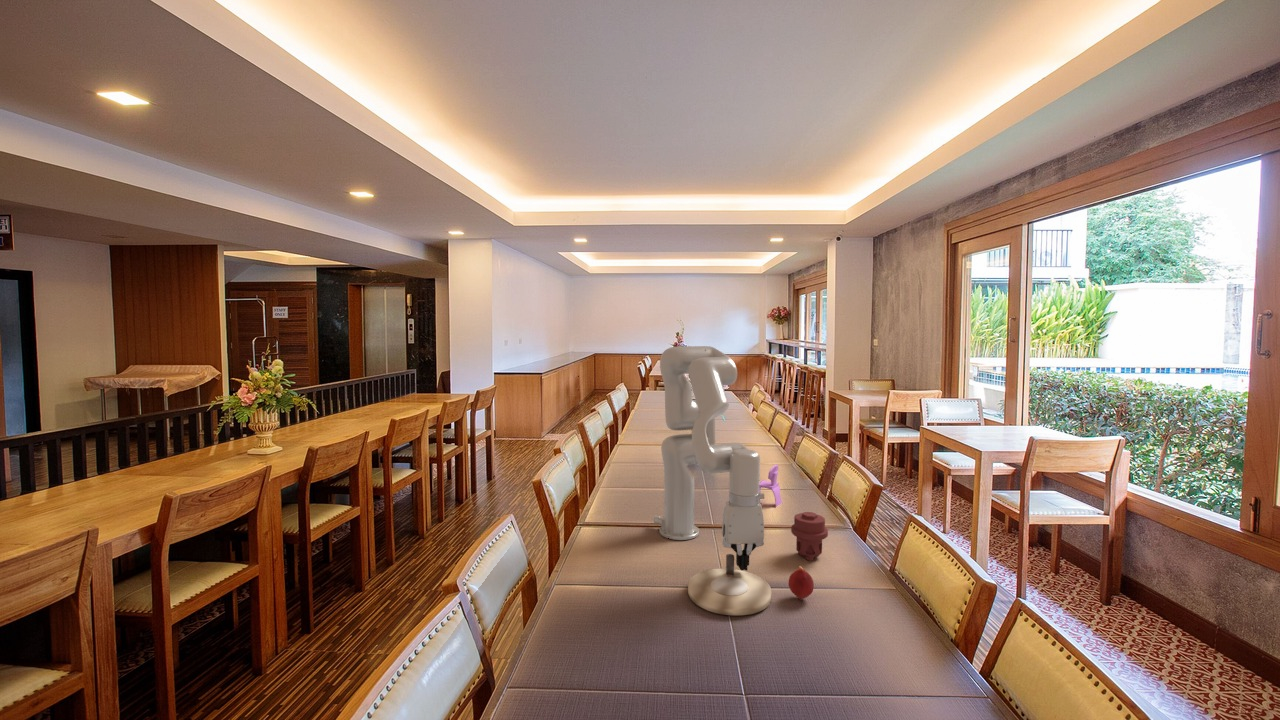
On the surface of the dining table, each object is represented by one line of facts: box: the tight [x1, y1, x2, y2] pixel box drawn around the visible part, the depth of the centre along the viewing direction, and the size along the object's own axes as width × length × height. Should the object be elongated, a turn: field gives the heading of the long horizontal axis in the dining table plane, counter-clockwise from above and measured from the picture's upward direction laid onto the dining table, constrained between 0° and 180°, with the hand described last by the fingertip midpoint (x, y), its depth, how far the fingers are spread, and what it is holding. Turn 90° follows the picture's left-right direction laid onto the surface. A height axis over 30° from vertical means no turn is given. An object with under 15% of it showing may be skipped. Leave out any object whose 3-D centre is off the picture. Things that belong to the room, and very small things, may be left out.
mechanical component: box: [790, 511, 829, 562], centre depth 152 cm, size 12×10×10 cm
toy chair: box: [759, 464, 783, 508], centre depth 199 cm, size 8×9×15 cm
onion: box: [788, 565, 815, 600], centre depth 128 cm, size 6×6×8 cm
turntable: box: [687, 553, 772, 616], centre depth 130 cm, size 20×20×6 cm
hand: (742, 567), depth 137 cm, fingers closed
